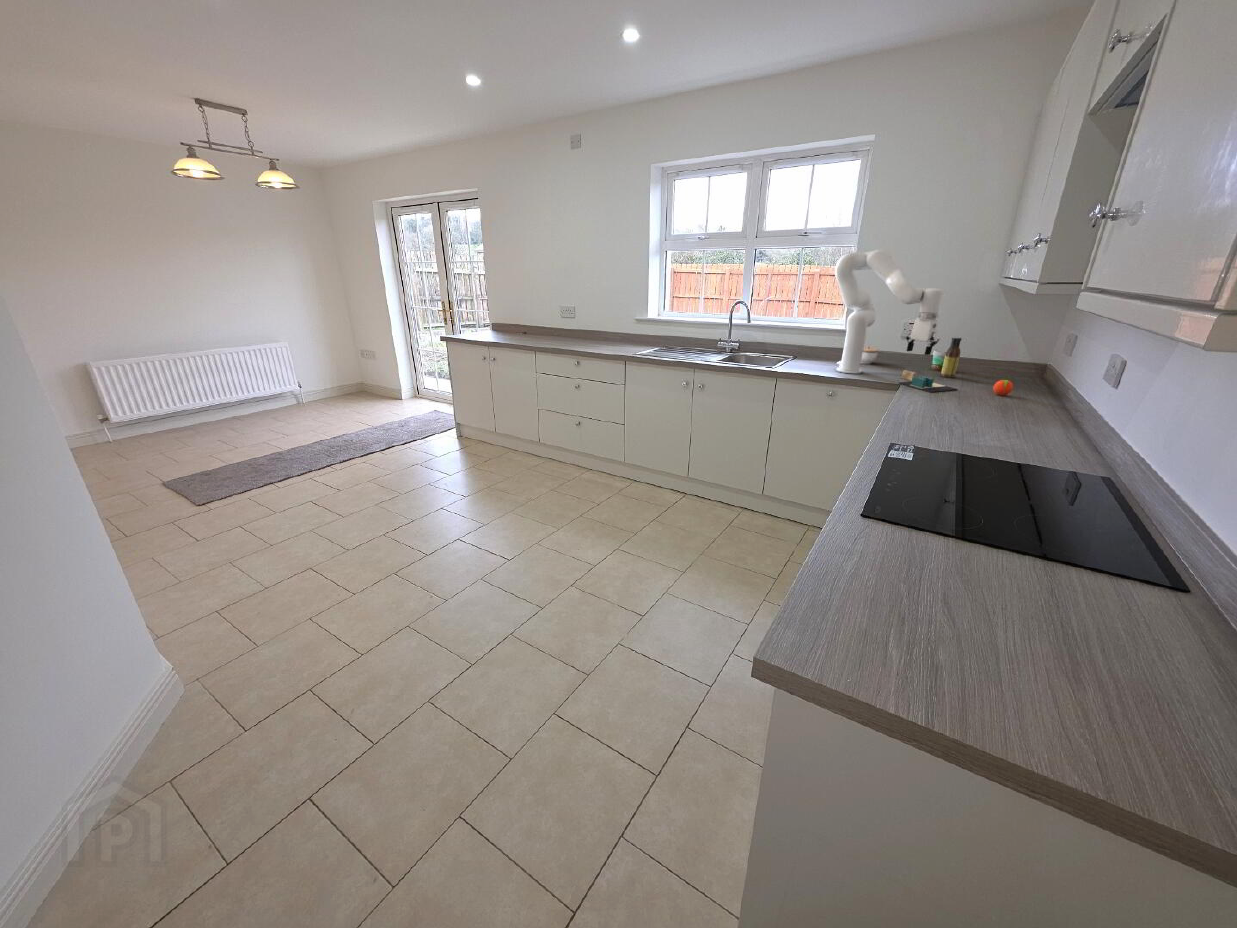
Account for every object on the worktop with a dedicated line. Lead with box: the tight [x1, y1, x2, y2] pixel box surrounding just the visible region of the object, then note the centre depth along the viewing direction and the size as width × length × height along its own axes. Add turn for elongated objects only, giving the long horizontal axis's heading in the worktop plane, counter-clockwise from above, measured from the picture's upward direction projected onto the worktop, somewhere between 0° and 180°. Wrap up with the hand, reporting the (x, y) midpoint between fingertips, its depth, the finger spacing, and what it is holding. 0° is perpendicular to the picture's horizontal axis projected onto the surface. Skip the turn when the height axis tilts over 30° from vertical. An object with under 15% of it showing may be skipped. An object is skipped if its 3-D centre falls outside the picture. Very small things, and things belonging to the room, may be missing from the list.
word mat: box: [898, 381, 958, 394], centre depth 230 cm, size 18×16×1 cm
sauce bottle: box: [940, 336, 963, 379], centre depth 246 cm, size 7×6×20 cm
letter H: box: [911, 375, 935, 388], centre depth 228 cm, size 6×6×4 cm
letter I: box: [901, 369, 917, 382], centre depth 243 cm, size 6×2×4 cm, turn 18°
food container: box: [931, 349, 947, 372], centre depth 262 cm, size 12×6×10 cm, turn 25°
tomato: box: [992, 379, 1014, 396], centre depth 215 cm, size 8×7×7 cm
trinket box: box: [860, 345, 879, 365], centre depth 279 cm, size 11×11×9 cm
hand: (918, 352), depth 234 cm, fingers open, 9 cm apart
